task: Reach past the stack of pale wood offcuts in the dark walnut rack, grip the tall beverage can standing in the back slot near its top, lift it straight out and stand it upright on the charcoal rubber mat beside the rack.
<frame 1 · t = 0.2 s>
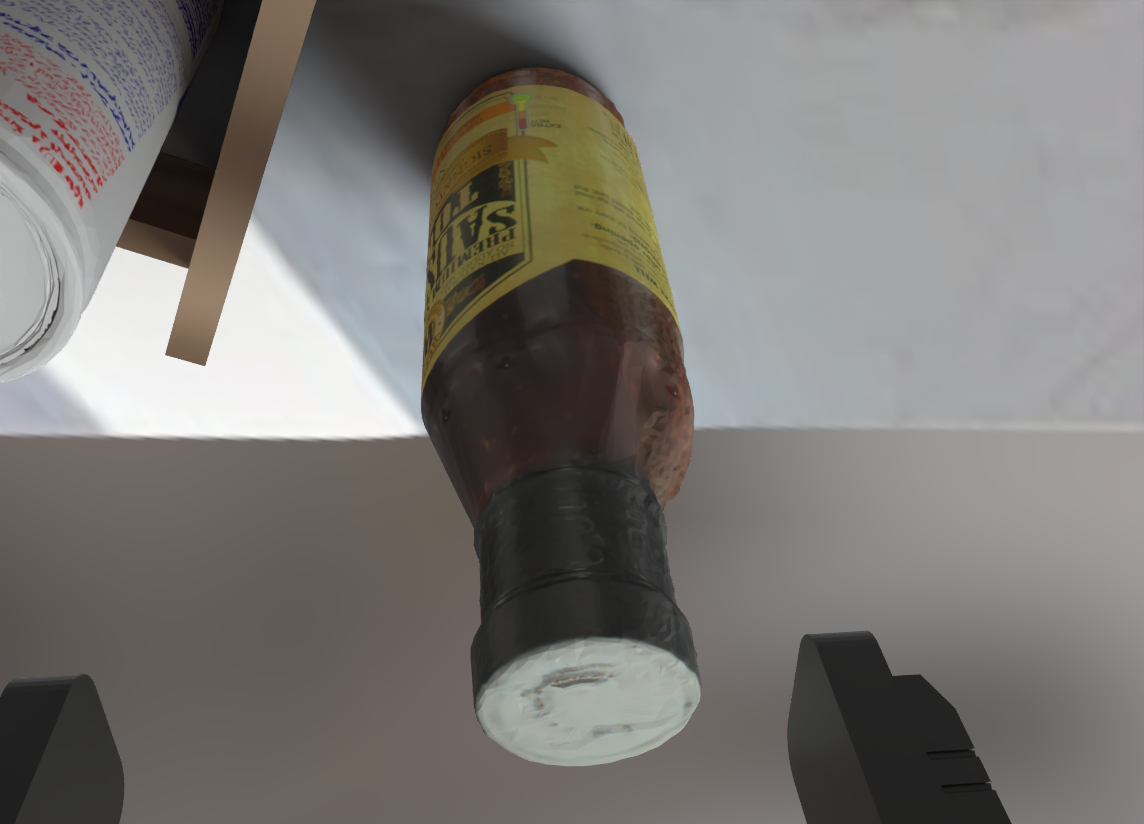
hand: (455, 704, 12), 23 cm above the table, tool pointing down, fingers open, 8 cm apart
sauce bottle: (531, 156, 34), on the table
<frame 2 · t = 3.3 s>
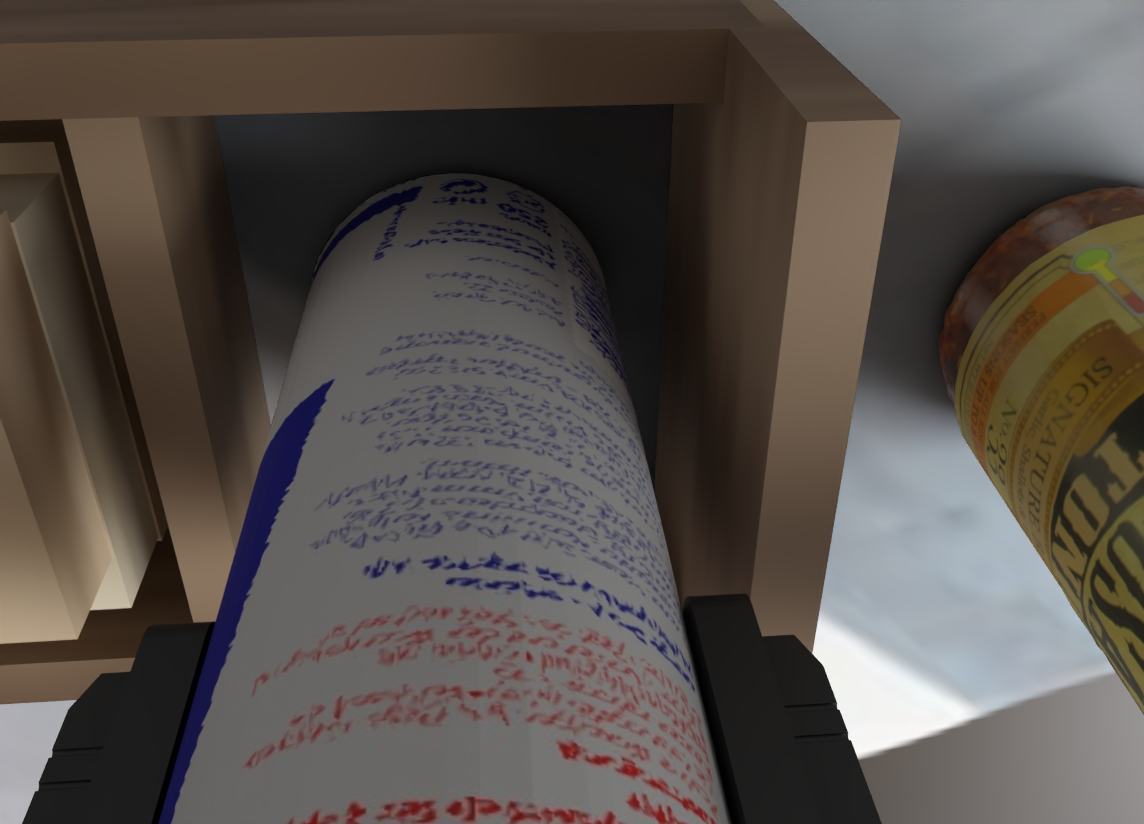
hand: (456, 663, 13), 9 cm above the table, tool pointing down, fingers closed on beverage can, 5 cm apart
offcut stack: (35, 315, 20), resting in walnut rack
walnut rack: (276, 309, 21), on the table
beverage can: (460, 297, 21), resting in walnut rack, touching gripper
sauce bottle: (1065, 318, 22), on the table
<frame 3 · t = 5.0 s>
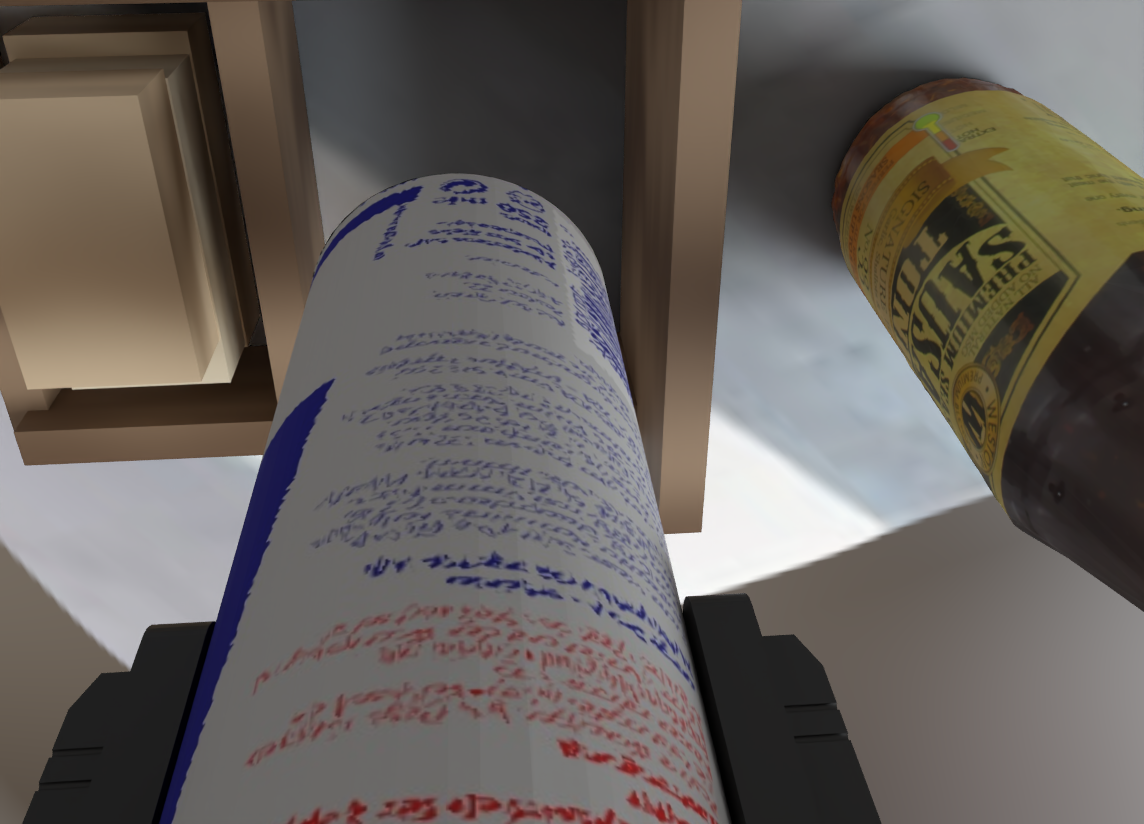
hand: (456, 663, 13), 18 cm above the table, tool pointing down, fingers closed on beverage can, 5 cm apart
offcut stack: (156, 176, 28), resting in walnut rack
walnut rack: (334, 171, 28), on the table
beverage can: (460, 297, 21), point 8 cm above the table, touching gripper
sauce bottle: (930, 187, 29), on the table
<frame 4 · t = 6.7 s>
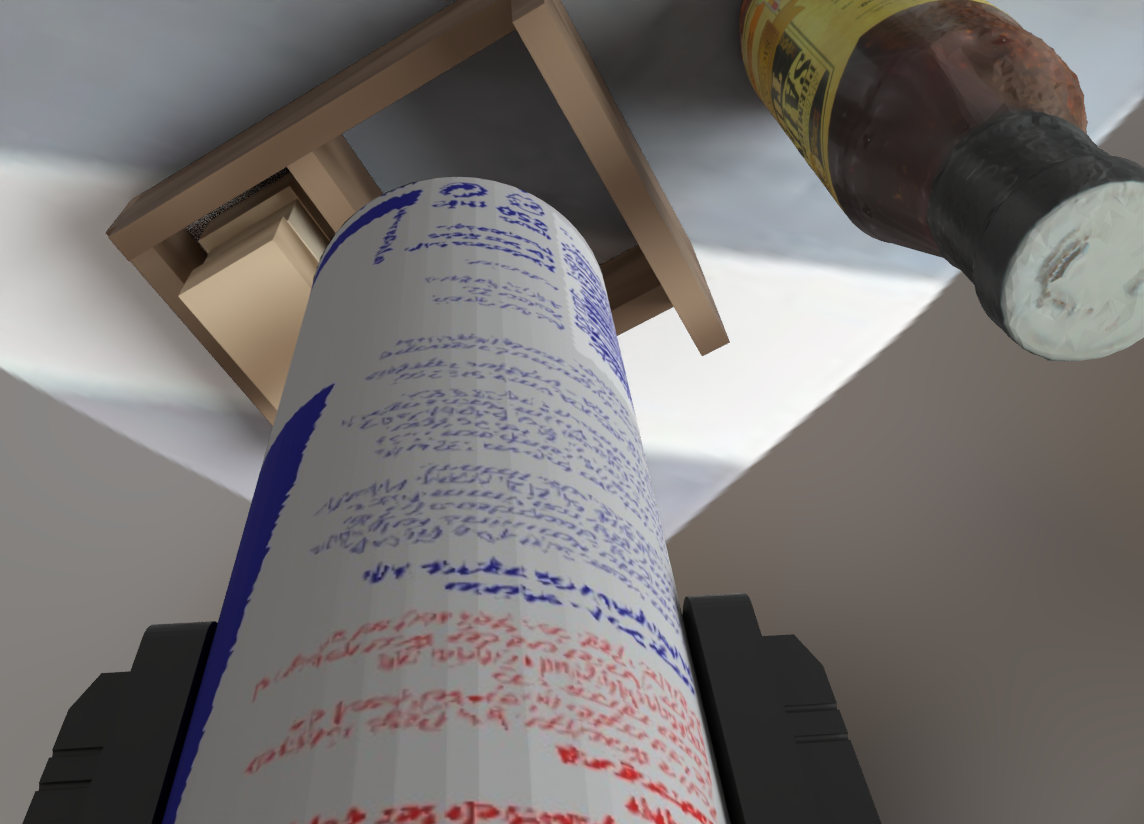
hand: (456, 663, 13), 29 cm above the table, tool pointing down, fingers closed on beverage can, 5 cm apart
offcut stack: (319, 278, 41), resting in walnut rack
walnut rack: (418, 222, 40), on the table
beverage can: (461, 300, 21), point 19 cm above the table, touching gripper
sauce bottle: (820, 24, 38), on the table
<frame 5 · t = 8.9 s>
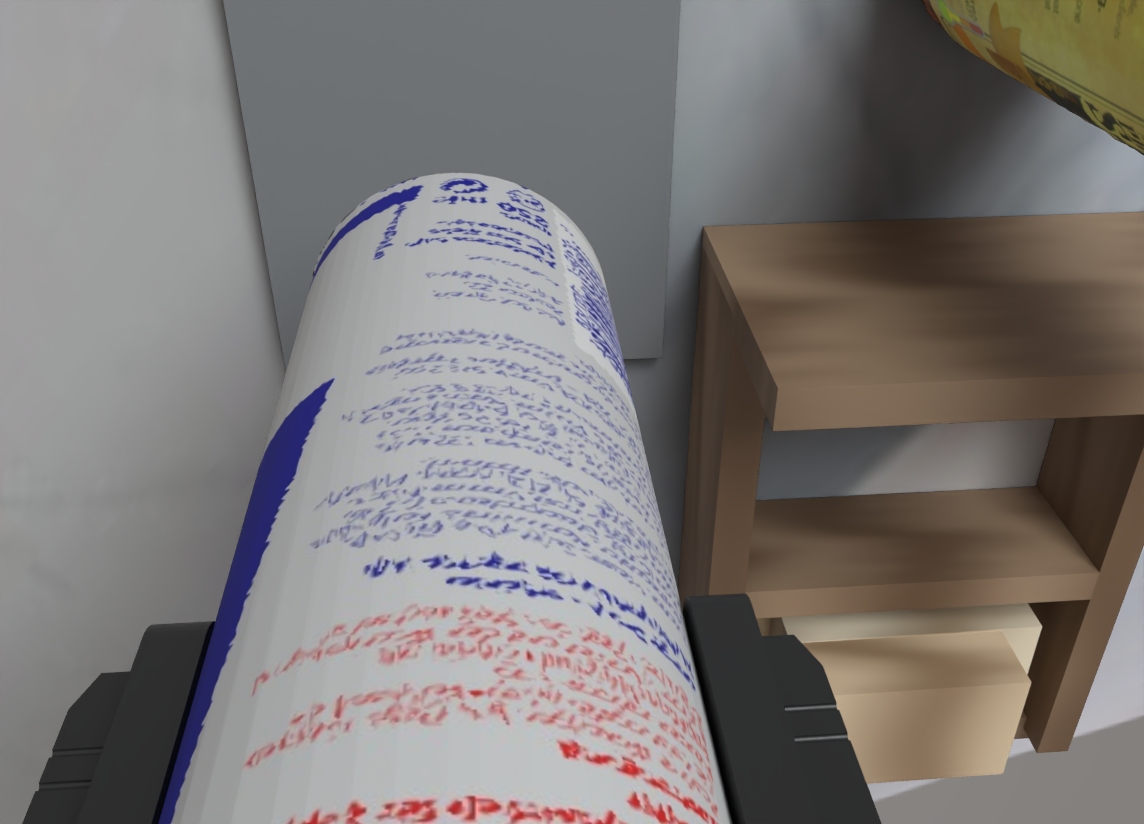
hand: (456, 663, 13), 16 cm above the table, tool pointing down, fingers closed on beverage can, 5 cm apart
offcut stack: (859, 590, 35), resting in walnut rack
walnut rack: (880, 481, 33), on the table
beverage can: (460, 297, 21), point 7 cm above the table, touching gripper
rubber mat: (466, 177, 26), on the table
when the fingers open (11 cm above the table, at t = 10.3 s): beverage can drops 1 cm, resting on rubber mat.
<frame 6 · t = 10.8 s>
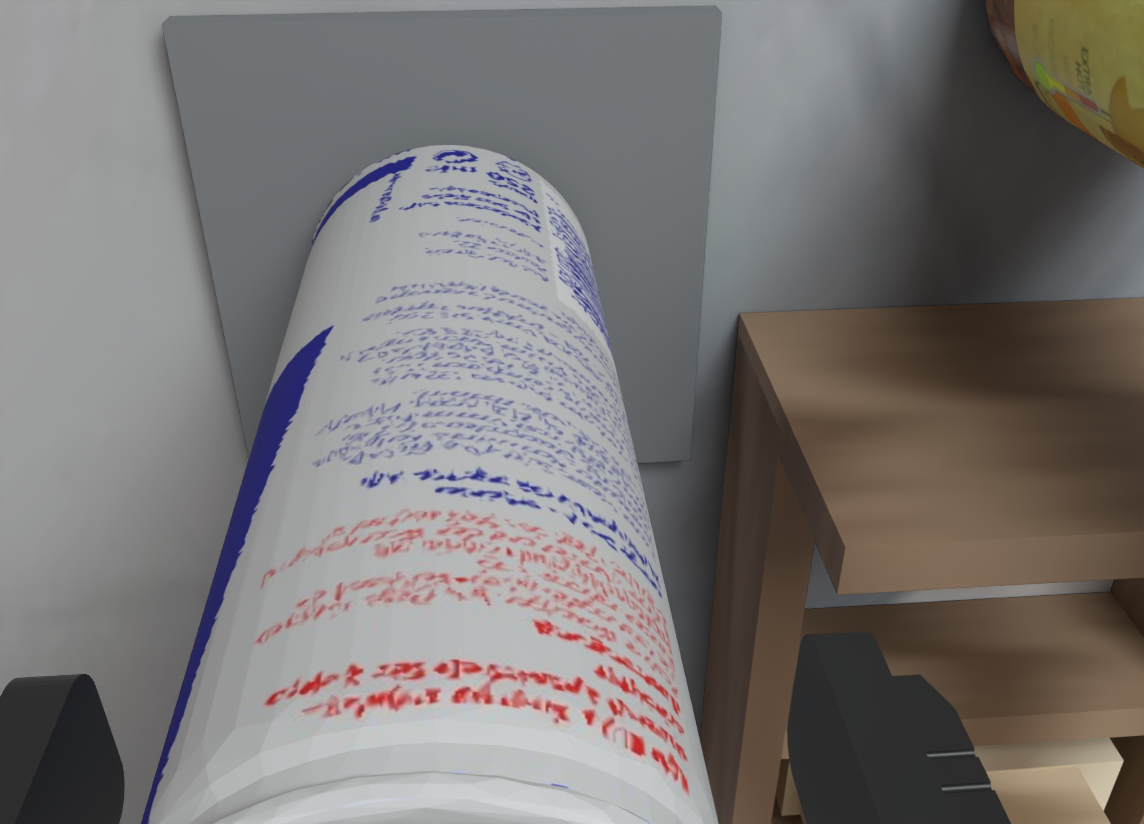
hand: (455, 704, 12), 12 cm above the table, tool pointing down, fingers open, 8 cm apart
offcut stack: (906, 703, 31), resting in walnut rack
walnut rack: (935, 588, 29), on the table
beverage can: (452, 265, 22), resting on rubber mat
rubber mat: (462, 260, 23), on the table
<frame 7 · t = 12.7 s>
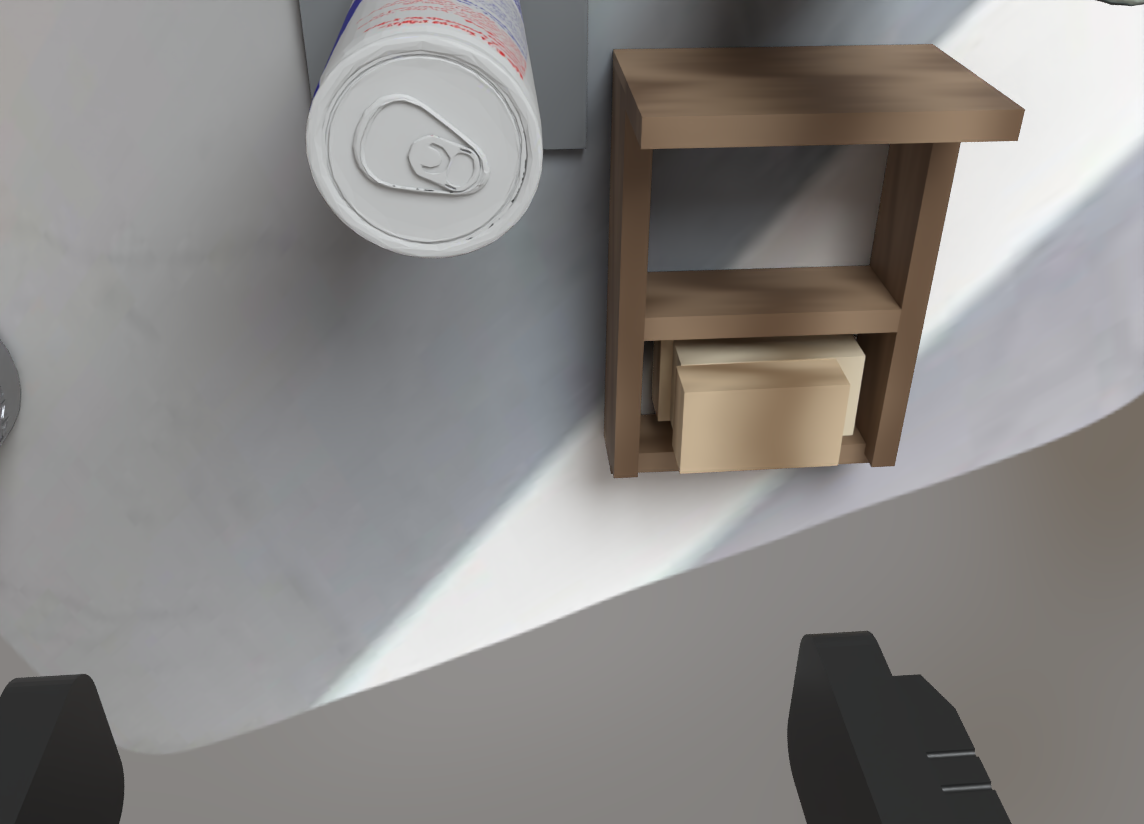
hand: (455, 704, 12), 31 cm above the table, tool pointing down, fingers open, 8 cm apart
offcut stack: (743, 353, 47), resting in walnut rack
walnut rack: (752, 257, 44), on the table
beverage can: (440, 9, 38), resting on rubber mat
rubber mat: (446, 8, 38), on the table
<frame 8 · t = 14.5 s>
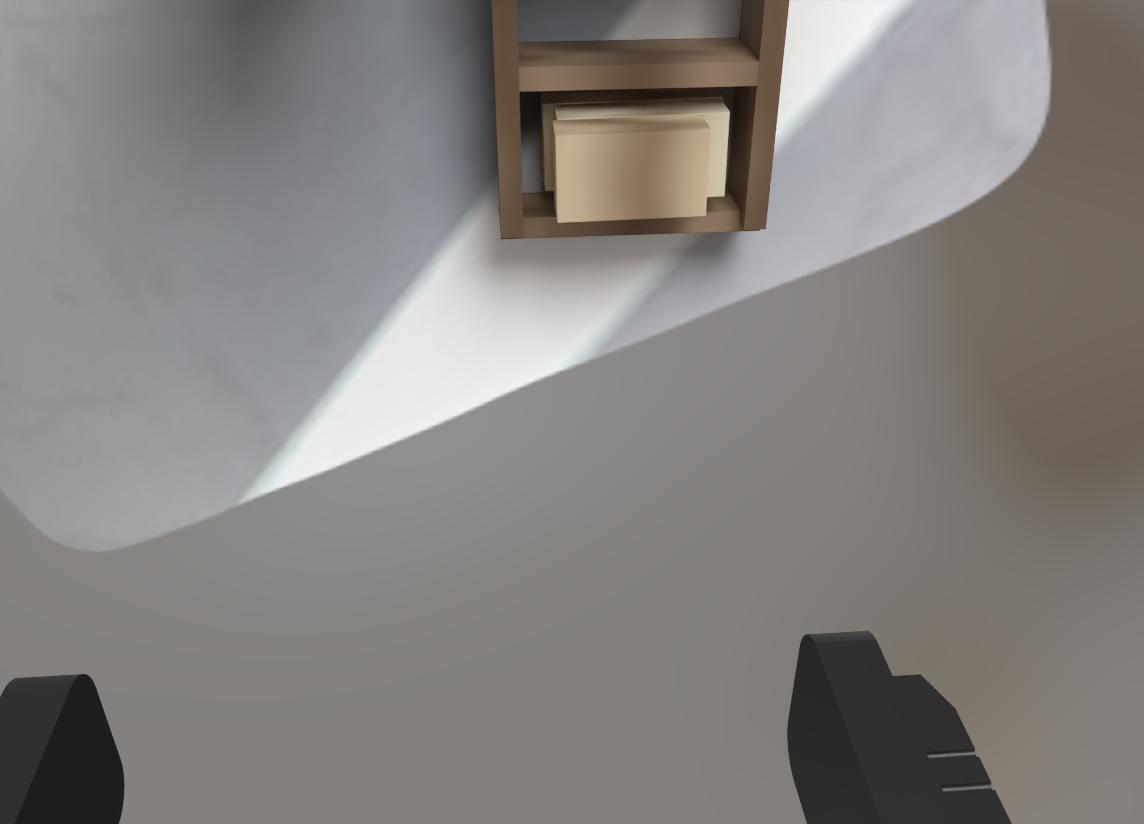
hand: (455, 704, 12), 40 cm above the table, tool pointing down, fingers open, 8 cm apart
offcut stack: (627, 130, 50), resting in walnut rack
walnut rack: (628, 28, 48), on the table
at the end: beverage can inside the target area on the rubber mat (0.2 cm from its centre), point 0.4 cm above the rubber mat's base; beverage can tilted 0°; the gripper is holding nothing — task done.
